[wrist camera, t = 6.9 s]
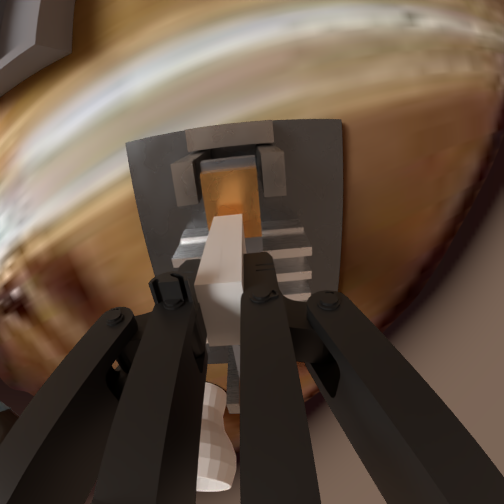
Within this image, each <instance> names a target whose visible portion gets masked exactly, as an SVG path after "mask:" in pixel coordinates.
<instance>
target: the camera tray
mask: <svg viewBox="0 0 504 504" xmlns="http://www.w3.org/2000/svg"><path fill="white" fill-rule="evenodd" d="M74 6H75V0H0V97H1V96H2V95H4V94H5V93H6V92H8V91H9V90H11V89H12V88H13V87H15V86H16V85H18V84H19V83H21V82H22V81H24V80H25V79H27V78H28V77H30V76H31V75H33V74H35V73H36V72H38V71H40V70H41V69H43V68H45V67H46V66H48V65H50V64H52V63H53V62H55V61H57V60H59V59H61V58H63V57H65V56H67V55H69V54H71V53H72V30H73V16H74Z"/></svg>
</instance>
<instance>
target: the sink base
mask: <svg viewBox="0 0 504 504" xmlns="http://www.w3.org/2000/svg"><path fill="white" fill-rule="evenodd" d="M126 150H127V156H128V162H129V168H130V173H131V179H132V184H133V189H134V194H135V199H136V203H137V208H138V212H139V217H140V221H141V225H142V230H143V234H144V238H145V242H146V245H147V249H148V253H149V257H150V260H151V264H152V267H153V271H154V274H155V277H156V276H157V275H160V274H163V273H166V272H171V271H178V269H179V266H180V265H181V264H182V263H184V262H185V261H186V260H192V259H201V258H202V255H203V251H204V248H205V244H206V241H207V237H208V234H209V230H208V224H207V218H206V212H205V206H204V200H203V193H202V187H201V180H200V173H201V167H200V163H201V161H203V160H211V159H219V158H228V157H237V156H247V155H255V162H256V170H257V182H258V193H259V205H260V217H261V230H262V245H263V252H268V253H269V254H270V255H271V256H272V257H273V262H274V266H275V271H276V276H277V281H278V286H279V290H280V291H281V293H282V294H283V296H285V297H287V298H289V299H291V300H295V301H302V302H307V301H308V298H309V297H310V296H311V295H312V294H314V293H316V292H318V291H324V290H331V291H337V292H338V283H339V271H340V257H341V240H342V217H343V145H342V122H341V119H297V120H273V121H272V120H265V121H252V122H241V123H231V124H223V125H215V126H207V127H200V128H194V129H188V130H185V131H179V132H174V133H168V134H163V135H158V136H153V137H149V138H144V139H140V140H135V141H131V142H127V143H126ZM206 349H207V352H208V364H218V363H228V376H227V397H226V405H227V408H228V411H229V414H237V413H240V378H239V374H238V370H237V365H236V361H235V356H234V351H233V347H232V345H226V346H209V343H208V339H207V340H206Z"/></svg>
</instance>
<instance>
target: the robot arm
mask: <svg viewBox="0 0 504 504" xmlns="http://www.w3.org/2000/svg"><path fill="white" fill-rule="evenodd" d="M148 284H149V287H150V290H151V293H152V296H153V299H154V302H155V306H154V309H153V311H152V312H149V313H146V314H142V315H138V316H134V314H133V312H132V311H131V310H130V309H129V308H126V307H116V308H112V309H111V310H109V311H107V312H105V313H104V314H103V315H102V316H101V317H100V318H99V319H98V320H97V321H96V322H95V324H94V325H93V326H92V327H91V328H90V329H89V330H88V331H87V333H86V334H85V335H84V336H83V337H82V338H81V339H80V341H79V342H78V343H77V344H76V345H75V346H74V348H73V349H72V350H71V351H70V352H69V354H68V355H67V356H66V357H65V358H64V360H63V361H62V362H61V363H60V364H59V366H58V367H57V368H56V369H55V371H54V372H53V373H52V374H51V376H50V377H49V378H48V379H47V381H46V382H45V383H44V384H43V386H42V387H41V388H40V390H39V391H38V392H37V394H36V395H35V396H34V398H33V399H32V400H31V402H30V403H29V405H28V406H27V407H26V409H25V410H24V411H23V413H22V414H21V415H20V416H18V415H17V414H16V413H15V412H14V411H12V410H11V408H10V407H7V406H6V405H5V404H4V403H2V402H1V401H0V504H84V503H85V501H86V499H87V497H88V495H89V493H90V492H91V489H92V488H93V486H94V484H95V482H96V480H97V483H96V488H95V492H94V497H93V500H92V503H91V504H196V503H195V502H196V487H197V472H198V458H199V446H200V434H201V423H202V412H203V402H204V392H205V382H206V373H207V364H208V352H207V349H206V340H207V339H208V343H209V346H226V345H240V492H241V493H240V494H241V504H321V500H320V493H319V487H318V481H317V474H316V469H315V462H314V457H313V451H312V445H311V439H310V433H309V428H308V422H307V417H306V412H305V406H304V400H303V395H302V389H301V384H300V379H299V374H298V368H297V363H296V361H298V362H305V365H306V367H307V369H308V371H309V373H310V374H311V376H312V378H313V379H314V381H315V383H316V385H317V386H318V388H319V390H320V391H321V393H322V395H323V397H324V398H325V400H326V402H327V403H328V405H329V407H330V409H331V410H332V412H333V414H334V415H335V417H336V419H337V420H338V422H339V423H340V426H341V427H342V429H343V431H344V432H345V434H346V436H347V437H348V439H349V441H350V442H351V444H352V446H353V448H354V449H355V451H356V453H357V454H358V456H359V458H360V459H361V461H362V463H363V464H364V466H365V468H366V469H367V471H368V473H369V474H370V476H371V478H372V479H373V481H374V482H375V484H376V485H377V487H378V489H379V491H380V493H381V494H382V496H383V497H384V499H385V501H386V502H387V504H504V477H503V475H502V474H501V473H500V471H499V470H498V469H497V467H496V466H495V465H494V463H493V462H492V461H491V460H490V458H489V457H488V456H487V454H486V453H485V452H484V450H483V449H482V448H481V447H480V445H479V444H478V443H477V442H476V440H475V439H474V438H473V437H472V435H470V433H469V432H468V431H467V429H466V428H465V427H464V426H463V425H462V423H461V422H460V421H459V420H458V418H457V417H456V416H455V415H454V414H453V412H452V411H451V410H450V409H449V408H448V407H447V405H446V404H445V403H444V402H443V401H442V399H441V398H440V397H439V396H438V395H437V394H436V393H435V391H434V390H433V389H432V388H431V387H430V386H429V385H428V384H427V382H426V381H425V380H424V379H423V378H422V377H421V376H420V374H419V373H418V372H417V371H416V370H415V369H414V368H413V367H412V365H411V364H410V363H409V362H408V361H407V360H406V359H405V358H404V357H403V356H402V355H401V353H400V352H399V351H398V350H397V349H396V348H395V347H394V346H393V345H392V344H391V343H390V341H389V340H388V339H387V338H386V337H385V336H384V335H383V334H382V333H381V332H380V331H379V330H378V329H377V328H376V326H375V325H374V324H373V323H372V322H371V321H370V320H369V319H368V318H367V317H366V316H365V315H364V314H363V313H362V312H361V311H360V310H359V309H358V308H357V307H356V306H355V305H354V304H353V302H352V301H351V300H350V299H349V298H348V297H346V296H345V295H344V294H342V293H340V292H337V291H331V290H324V291H318V292H316V293H314V294H312V295H311V296H310V297H309V298H308V301H307V302H302V301H295V300H291V299H289V298H287V297H285V296H283V294H282V293H281V291H280V290H279V286H278V281H277V276H276V271H275V266H274V262H273V257H272V256H271V255H270V254H269V253H268V252H257V253H247V254H246V245H245V236H244V227H243V218H242V214H235V215H225V216H216V217H214V218H213V221H212V224H211V227H210V231H209V234H208V237H207V241H206V244H205V248H204V251H203V255H202V258H201V259H192V260H186V261H185V262H184V263H182V264H181V265H180V266H179V269H178V271H171V272H166V273H163V274H160V275H157V276H156V277H154V278H153V279H152V280H151V281H150V282H149V283H148ZM115 360H116V361H117V362H118V364H119V365H118V367H117V368H116V369H113V367H112V364H113V363H114V361H115ZM97 478H98V479H97Z"/></svg>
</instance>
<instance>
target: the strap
mask: <svg viewBox="0 0 504 504" xmlns="http://www.w3.org/2000/svg"><path fill="white" fill-rule="evenodd" d="M200 167H201V173H200V180H201V187H202V193H203V200H204V206H205V212H206V218H207V224H208V230H209V231H210V227H211V224H212V221H213V218H214V217H216V216H225V215H235V214H242V218H243V227H244V236H245V245H246V254H247V253H257V252H263V245H262V230H261V217H260V205H259V193H258V182H257V170H256V162H255V155H247V156H237V157H228V158H219V159H211V160H203V161H201V163H200ZM232 347H233V351H234V356H235V361H236V365H237V370H238V374H239V378H240V345H232Z"/></svg>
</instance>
